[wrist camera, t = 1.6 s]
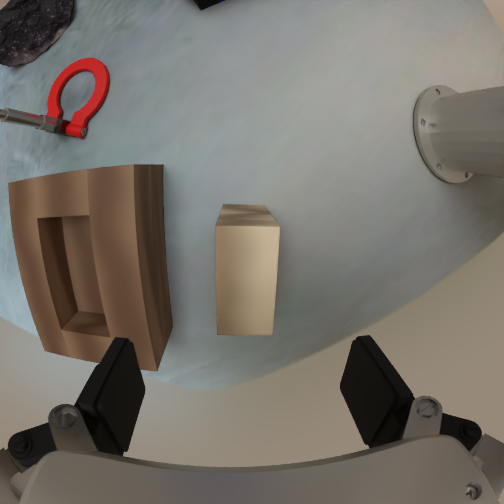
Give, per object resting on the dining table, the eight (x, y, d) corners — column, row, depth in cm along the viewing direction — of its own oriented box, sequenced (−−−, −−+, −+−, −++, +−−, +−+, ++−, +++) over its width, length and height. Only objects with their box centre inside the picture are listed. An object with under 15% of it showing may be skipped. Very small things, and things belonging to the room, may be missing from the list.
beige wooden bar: (264, 205, 26) (279, 226, 17) (260, 285, 29) (271, 340, 19) (223, 204, 26) (215, 225, 17) (223, 284, 29) (217, 340, 19)
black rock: (99, -16, 16) (68, -51, 6) (56, 61, 19) (6, 34, 9) (38, 6, 16) (6, -16, 6) (3, 76, 18) (-40, 63, 8)
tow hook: (70, 59, 20) (41, 129, 22) (8, 22, 7) (-35, 119, 9) (123, 64, 21) (91, 141, 23) (67, 10, 9) (11, 126, 11)
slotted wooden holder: (163, 164, 24) (133, 164, 17) (172, 326, 30) (157, 371, 22) (53, 175, 24) (8, 183, 16) (74, 316, 29) (45, 350, 21)
